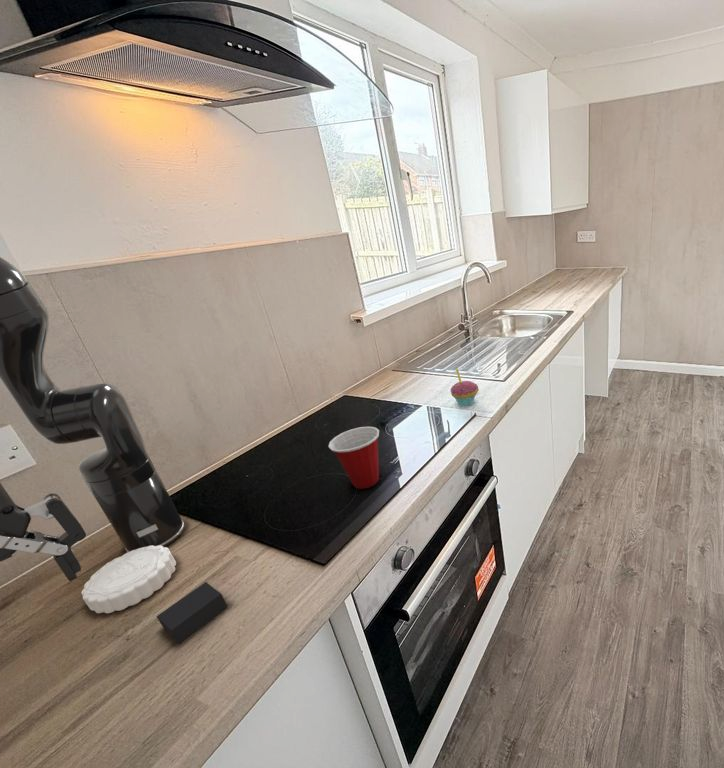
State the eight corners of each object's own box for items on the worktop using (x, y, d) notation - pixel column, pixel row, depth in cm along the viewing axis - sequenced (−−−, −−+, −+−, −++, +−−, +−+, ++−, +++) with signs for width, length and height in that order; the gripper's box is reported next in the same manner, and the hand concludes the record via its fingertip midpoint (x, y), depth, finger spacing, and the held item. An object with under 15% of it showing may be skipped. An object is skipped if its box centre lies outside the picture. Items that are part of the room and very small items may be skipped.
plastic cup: (372, 462, 102) (362, 419, 98) (399, 476, 96) (389, 432, 91) (332, 485, 95) (318, 440, 90) (357, 502, 88) (344, 455, 84)
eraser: (164, 629, 64) (156, 616, 63) (212, 594, 69) (205, 581, 68) (179, 644, 61) (170, 630, 60) (227, 606, 67) (221, 593, 66)
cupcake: (447, 407, 127) (441, 371, 122) (462, 395, 134) (457, 361, 129) (470, 411, 123) (465, 374, 119) (485, 399, 130) (481, 364, 125)
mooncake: (174, 546, 80) (166, 532, 79) (179, 583, 72) (171, 568, 71) (91, 583, 73) (81, 569, 72) (87, 629, 65) (75, 613, 64)
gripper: (30, 442, 48) (96, 550, 54) (-194, 514, 38) (-81, 637, 44) (39, 458, 44) (110, 573, 50) (-212, 545, 33) (-83, 677, 39)
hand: (21, 603), depth 47 cm, fingers open, 8 cm apart
